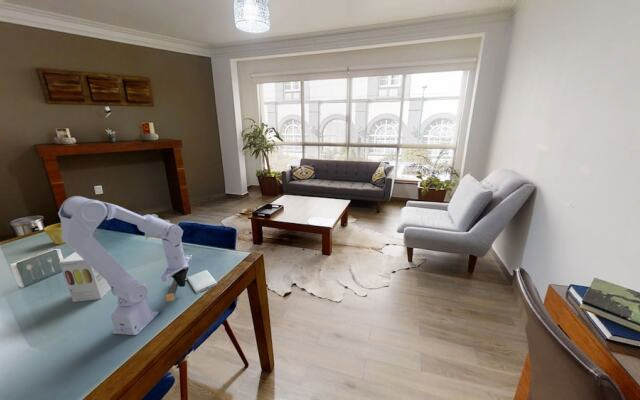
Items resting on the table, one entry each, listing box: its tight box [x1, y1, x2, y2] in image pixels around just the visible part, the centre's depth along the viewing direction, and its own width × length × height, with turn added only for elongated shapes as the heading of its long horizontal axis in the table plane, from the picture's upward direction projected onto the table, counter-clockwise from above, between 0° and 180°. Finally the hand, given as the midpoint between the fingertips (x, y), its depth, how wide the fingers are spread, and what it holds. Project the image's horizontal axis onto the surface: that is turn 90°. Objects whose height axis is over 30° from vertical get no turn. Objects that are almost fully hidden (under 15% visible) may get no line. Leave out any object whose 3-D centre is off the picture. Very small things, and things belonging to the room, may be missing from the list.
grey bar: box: [165, 279, 179, 302], centre depth 95 cm, size 3×18×2 cm, turn 17°
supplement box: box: [58, 251, 111, 303], centre depth 94 cm, size 10×9×17 cm
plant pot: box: [43, 222, 66, 245], centre depth 138 cm, size 10×10×10 cm
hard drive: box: [186, 269, 219, 294], centre depth 102 cm, size 2×8×12 cm
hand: (182, 286), depth 94 cm, fingers closed
